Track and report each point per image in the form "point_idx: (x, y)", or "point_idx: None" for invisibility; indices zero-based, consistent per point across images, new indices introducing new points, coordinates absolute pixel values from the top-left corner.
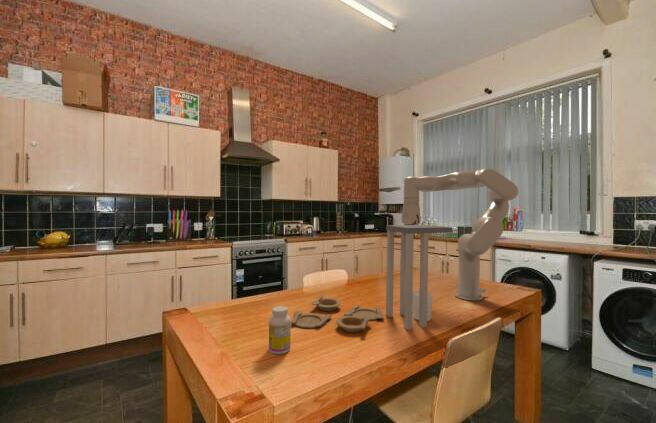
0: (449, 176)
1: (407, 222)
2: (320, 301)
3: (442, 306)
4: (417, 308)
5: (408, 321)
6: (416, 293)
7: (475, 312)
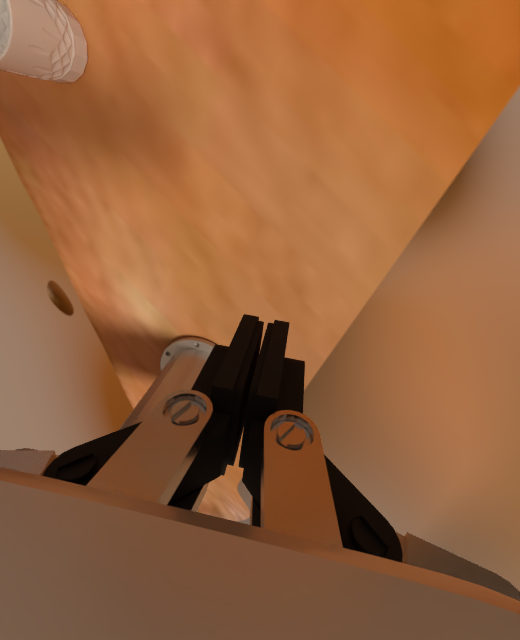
0: None
1: (83, 538)
2: None
3: (148, 226)
4: None
5: None
6: (16, 6)
7: (85, 271)
